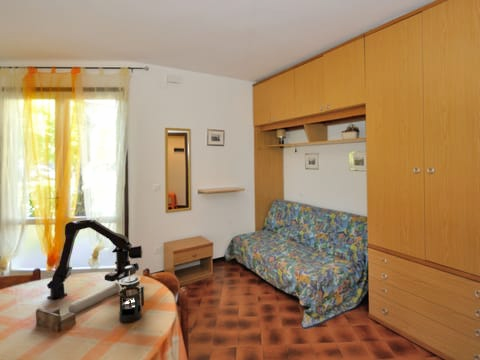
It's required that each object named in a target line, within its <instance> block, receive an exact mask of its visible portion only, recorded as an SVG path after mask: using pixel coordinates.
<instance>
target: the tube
mask: <svg viewBox="0 0 480 360" xmlns="http://www.w3.org/2000/svg"><path fill="white" fill-rule="evenodd" d="M119 291H121V286H120V284H119V283H118V282H117V283H116V282H113V283H112V284H110V285H108V286H105V287H103V288H101V289H98V290H97V291H95V292H92V293H90V294H88V295H86V296H84V297H82V298H80V299H77V300H75V301H72V302H71V303H70V304H69V306H68V307H67V309H68V313H69V312H72V313H75V314H77V313H79V312H81V311H83V310H85V309H87V308H89V307H92V306H93V305H95V304H97V303H99V302H101V301H104V300H106V299H107V298H110V297H111V296H114V295H115V294H119Z"/></svg>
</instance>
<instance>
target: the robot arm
mask: <svg viewBox="0 0 480 360" xmlns="http://www.w3.org/2000/svg"><path fill="white" fill-rule="evenodd" d="M85 229H91V230H93V231H95V232H96V233H97V234H99V235H101V236H103V237H105V238H106V239H108V240H109V241H110V242H111V243H112V245H114V246H115V248H114V249H113V250H112V252H111V253H114V254H116V260H115V261H114V264H115V265H116V268H115V269H114V272H109V273H106V274H105V275H104V281H108V282H111V283H112V282H113V283H114V282H116V281H117V283H118V282H119V280H121V279H122V278H125V277H129V271H128V269H124V267H126V266H129V265H133V266H134V268H132V269H131V270H130V276H132V275H133V276H134V275H135V274H136V272H137V271H139V268H140V267H139V263H138V262H136V263H131V261H130V260H129V259H131V260H132V259H133V260H134V259H142V258H143V247H142V245H132V244H131V242H130V241H129V238H128V237H127V236H126V235H124V234H122V233H118V232H115V231H113V230H111V229H110V228H108V227H106V226H105V225H103V224H101V223H100V222H98V221H97V220H96V219H94V218H90V219H84V220H77V219H73V220H71V221H69V222H67V223H66V224H65V226H64V237H65V238H64V244H63V248H62V252H61V256H60V260H59V263H58V265H57V268H56V269H55V271H54V273H53V275H52V279H51V280H50V281H49V282H48V283H47V284H46V286H47V288H48V289H49V291H50V292H49V296H46V297H47V299H49V300H54V301H56V300H59V299H60V298H63V297H65V296H67V295H68V293H66V292H65V284H64V283H65V282H66V280H67V279H68V278H69V277H70V276H71V274H72V270H73V267H72V266H70V261H71V257H72V254H73V249H74V246H75V243H76V242H75V241H76V238H77V236H78V234H79V233H80V231H81V230H85ZM119 286H120V288H121V289H124V288H125V286H123V285H120V284H119Z"/></svg>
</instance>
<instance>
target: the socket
mask: <svg viewBox="0 0 480 360" xmlns="http://www.w3.org/2000/svg"><path fill="white" fill-rule="evenodd" d="M35 320H36V321H35V322H36V323H35V324H36V326H39V327H41V328H43V329H47V330H50V331H53V332H54V333H59V332H61V331H63V330H66V329H67V328H69V327H70V326H72V325H75V324H76V323H77V322H76V313H72V312H69V311H68V312H67V313H65V314H63V315H61V313H60V308H58V307H51V308H49V309H46V310H45V309H42V308H39V307H38V308H36V311H35Z"/></svg>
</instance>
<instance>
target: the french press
mask: <svg viewBox="0 0 480 360" xmlns="http://www.w3.org/2000/svg"><path fill="white" fill-rule="evenodd" d="M132 268H134V266H133V265H129V266H126V267H124V269H128V271H129V276H128V277H125V278H122V279H121V280H119V282H118V281H117V283H118V285H119V286H120V285H123V286H124V288H121V289H120V291H119V292H118V297H119V312H118V315H119V318H118V322H119V323H121V324H125V325H127V324H133V323H135V322H138V321H140V320H141V318H142V316H143V314H142V307H144V305H145V293H144V291H145V289H144V286H142V285H140V281H141V277H140V276H137V275H133V276H132V275H131V276H130V270H131V269H132ZM139 285H140V286H139ZM133 290H135V291H137V292H135V293H134V294H129V295H127V291H129V293H131V291H133ZM129 314H130V315H129Z"/></svg>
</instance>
